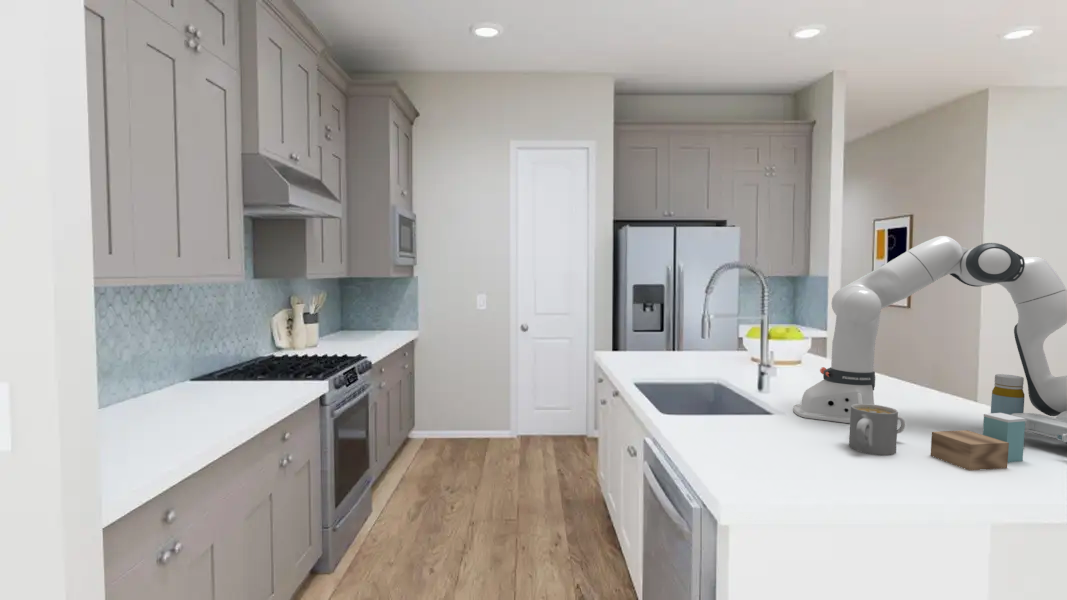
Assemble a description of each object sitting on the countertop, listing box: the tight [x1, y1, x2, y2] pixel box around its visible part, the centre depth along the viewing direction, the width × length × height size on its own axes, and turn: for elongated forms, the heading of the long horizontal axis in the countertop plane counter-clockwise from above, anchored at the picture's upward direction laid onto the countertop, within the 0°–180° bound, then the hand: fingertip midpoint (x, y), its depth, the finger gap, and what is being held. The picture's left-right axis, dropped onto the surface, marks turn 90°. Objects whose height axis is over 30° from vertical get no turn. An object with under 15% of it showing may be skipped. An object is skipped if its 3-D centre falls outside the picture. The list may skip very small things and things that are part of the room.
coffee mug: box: [848, 404, 899, 456], centre depth 140 cm, size 13×10×10 cm
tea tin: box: [982, 412, 1026, 463], centre depth 136 cm, size 6×6×10 cm
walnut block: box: [930, 429, 1009, 471], centre depth 133 cm, size 10×10×6 cm
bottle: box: [990, 373, 1025, 415], centre depth 160 cm, size 7×7×15 cm
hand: (1038, 431), depth 139 cm, fingers open, 8 cm apart
